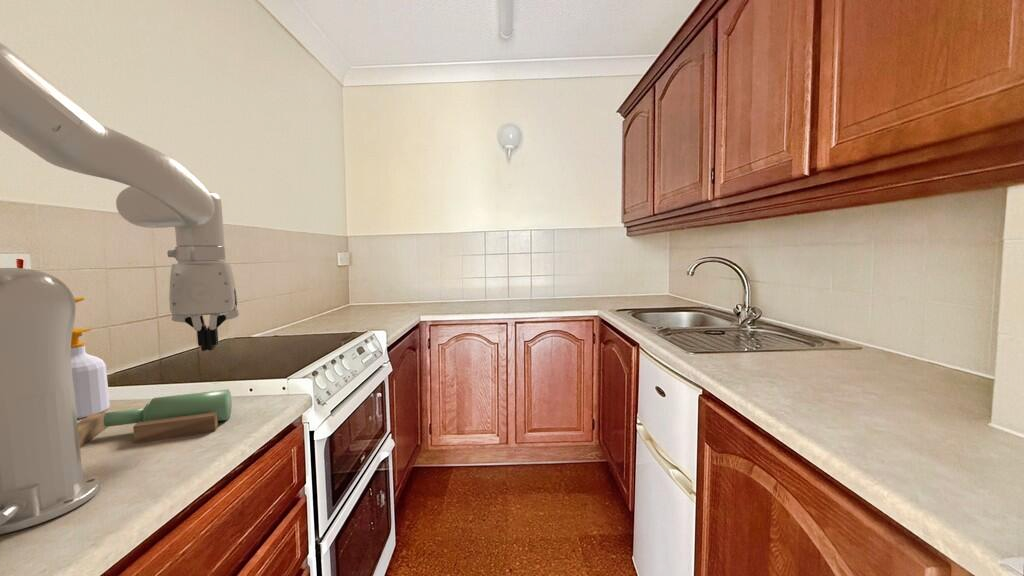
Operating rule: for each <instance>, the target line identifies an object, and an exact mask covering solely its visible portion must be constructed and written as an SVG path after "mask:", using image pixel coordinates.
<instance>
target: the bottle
mask: <svg viewBox="0 0 1024 576" xmlns="http://www.w3.org/2000/svg"><path fill="white" fill-rule="evenodd" d="M232 400H233V399H232V395H231V391H230V390H229V389H221V390H214V391H213V390H211V391H204V392H203V391H202V392H194V393H186V394H176V395H167V396H159V397H154V398H152V399H151V400H150V402H149V403H147V404H145V406H144V408H143V407H142V408H134V409H125V410H115V411H108V412H106V414H105V416H104V425H105V427H107V428H108V427H109V428H110V427H115V426H116V427H117V426H123V425H132V424H137V423H138V422H144V421H152V420H159V419H167V418H174V417H182V416H189V415H197V414H204V413H212V412H217V420H218V422H222V421H228V420H229V419H230V418H231V414H232V405H233V404H232Z"/></svg>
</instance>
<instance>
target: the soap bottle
mask: <svg viewBox="0 0 1024 576" xmlns="http://www.w3.org/2000/svg"><path fill="white" fill-rule="evenodd" d="M85 299H86V298H85V297H74V300H75V304H77V303H79V302H82V301H85ZM87 332H91V328H73V332H72V339H71V367H72V378H73V385H74V395H75V404H76V414H77V420H78V419H83V418H84V419H85V418H87V417H88V416H90V415H91V414H96V413H104V412H105V411H107V410H108V409H109V408H110V406H111V405H110V395H109V394H110V393H109V383H108V374H107V364H106V363H105V361H104V360H103V359H102V358H100V357H98V356H95V355H91V354H88V353H87V352H86V344H85V342H80V340H79V339H80V338H79V337H82V336H83V333H87Z"/></svg>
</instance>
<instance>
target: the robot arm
mask: <svg viewBox="0 0 1024 576" xmlns="http://www.w3.org/2000/svg"><path fill="white" fill-rule="evenodd" d="M0 131H1V132H3V134H5V135H7V136H8V137H9V138H11V139H13V140H14V141H16V142H18V143H19V144H20V145H22V146H24V147H25V148H26V149H28V150H29V151H30V152H32V153H34V154H35V155H37V156H38V157H40V158H41V159H43V160H44V161H45V162H47V163H49V164H52V165H53V166H55V167H58V168H60V169H65V170H68V171H71V172H75V173H78V174H82V175H87V176H90V177H96V178H102V179H106V180H110V181H114V182H117V183H120V184H123V185H127V186H128V187H126V188H124V189H123V190H122V191H120V192H119V194H118V195H117V197H116V199H115V200H116V201H115V205H116V211H117V212H118V214H119V215H120V216H121V217H122V218H123V219H124V220H125V221H127V222H129V223H130V224H132V225H135V226H137V227H142V228H149V229H154V228H155V229H157V228H158V229H159V228H163V229H164V228H165V229H166V228H174V231H175V232H174V233H175V244H176V246H175V247H174V249H171V250H167V253H166V254H167V256H168V258H173V259H175V260H176V262H177V263H172V264H171V269H170V274H169V294H168V295H169V297H168V298H169V311H170V313H171V315H172V316H171V321H173V322H177V323H185V324H188V326H190V327H192V328H193V329H194V330H195V331H196V335H197V345H198V347H200V348H201V351H202V352H204V351H214V349H215V348H216V346H218V345H219V333H218V328H219V327H220V326H221V325H222V324H223V323H225V321H229V320H231V319H236V318H237V317H239V315H240V313H239V311H238V310H239V309H238V307H237V306H238V298H237V297H238V296H237V290H236V283H235V278H234V274H233V270H232V267H231V266H232V265H231V263H230V262H226V249H225V248H226V247H225V234H224V233H225V232H224V221H223V220H224V219H223V203H222V199H221V197H220V195H218V194H217V193H215V192H212V191H209V190H208V189H207V188H206V187H205V185H204V184H202V183H201V181H200V180H198V179H197V178H196V177H195V176H194V175H193V174H192V173H190V172H189V170H188V169H186V168H185V167H184V166H183V165H182V164H180V163H179V162H178V161H176V160H174V159H173V158H171V157H170V156H168V155H166V154H165V153H163V152H161V151H159V150H157V149H155V148H153V147H150V146H148V145H146V144H144V143H142V142H140V141H138V140H136V139H135V138H132V137H130V136H128V135H125V134H123V133H122V132H118V131H116V130H114V129H112V128H110V127H108V126H106V125H104V124H102V123H101V122H99V121H98V120H97V119H96V118H94V117H93V116H92V115H91V114H89V113H88V111H86V110H85V109H84V108H83V107H81V106H80V105H78V104H77V102H75V101H73V100H72V99H71V97H69V96H68V95H66V94H65V93H64V92H63V91H62V90H61V89H59V88H58V87H57V86H55V85H54V84H53V83H52V82H50V81H49V80H48V79H47V78H46V77H44V75H43V74H41V73H40V72H38V71H37V70H36V69H35V68H34V67H32V66H31V65H30V64H29V63H27V62H26V61H25V60H24V59H22V58H21V57H20V56H19V55H18V54H17V53H15V52H14V51H12V50H11V49H10V48H9V47H8V46H7V45H4V44H3V43H2V42H0ZM74 298H75V297H74V295H73V292H72V291H71V290H70V288H69V287H68V286H67V284H66V283H64V282H63V281H62V280H60V279H59V278H57V277H55V276H53V275H52V274H49V273H46V272H43V271H41V270H35V269H31V268H23V267H22V268H21V267H0V535H3V534H4V535H5V534H9V533H11V532H12V533H13V532H16V531H20V530H24V529H27V528H30V527H33V526H36V525H39V524H42V523H45V522H47V521H50V520H52V519H56V518H57V517H59V516H62V515H64V514H66V513H69V512H70V511H73V510H74V509H77V508H78V507H80V506H82V505H83V504H85V503H86V502H88V501H90V499H92V498H93V497H94V496H95V495H96V494H97V493H98V492H99V489H100V479H99V477H97V476H95V475H93V474H86V473H83V464H82V463H83V462H82V453H81V448H80V443H79V433H78V419H77V414H76V404H75V395H74V385H73V378H72V367H71V339H72V332H73V329H74V326H75V325H74V324H75V319H76V310H77V309H76V308H77V307H76V306H77V305H76V303H75V300H74ZM204 316H209V320H208V321H209V322H208V326H207V325H206V323H205V319H204Z"/></svg>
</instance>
